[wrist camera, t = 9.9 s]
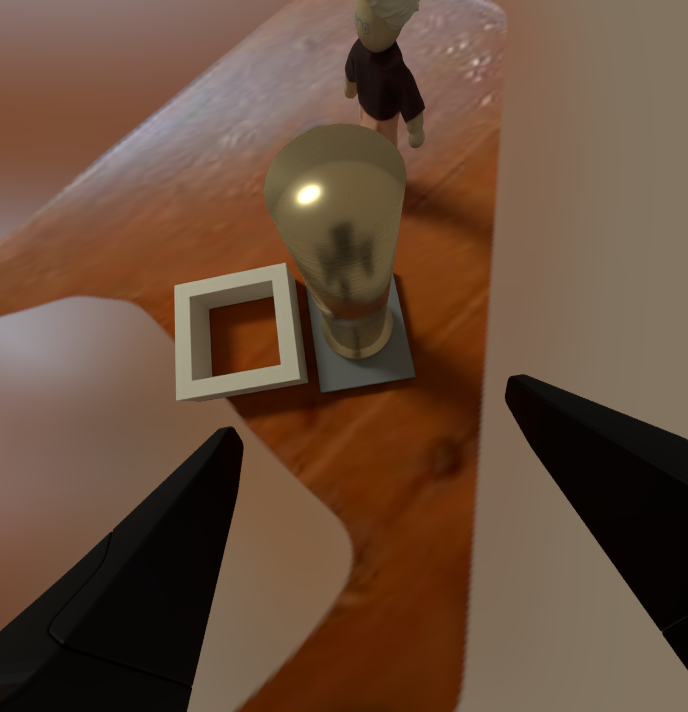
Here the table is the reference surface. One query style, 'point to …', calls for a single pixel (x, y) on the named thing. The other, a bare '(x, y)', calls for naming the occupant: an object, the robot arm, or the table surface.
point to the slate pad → (371, 371)
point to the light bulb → (342, 228)
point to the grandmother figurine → (384, 70)
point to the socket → (196, 342)
